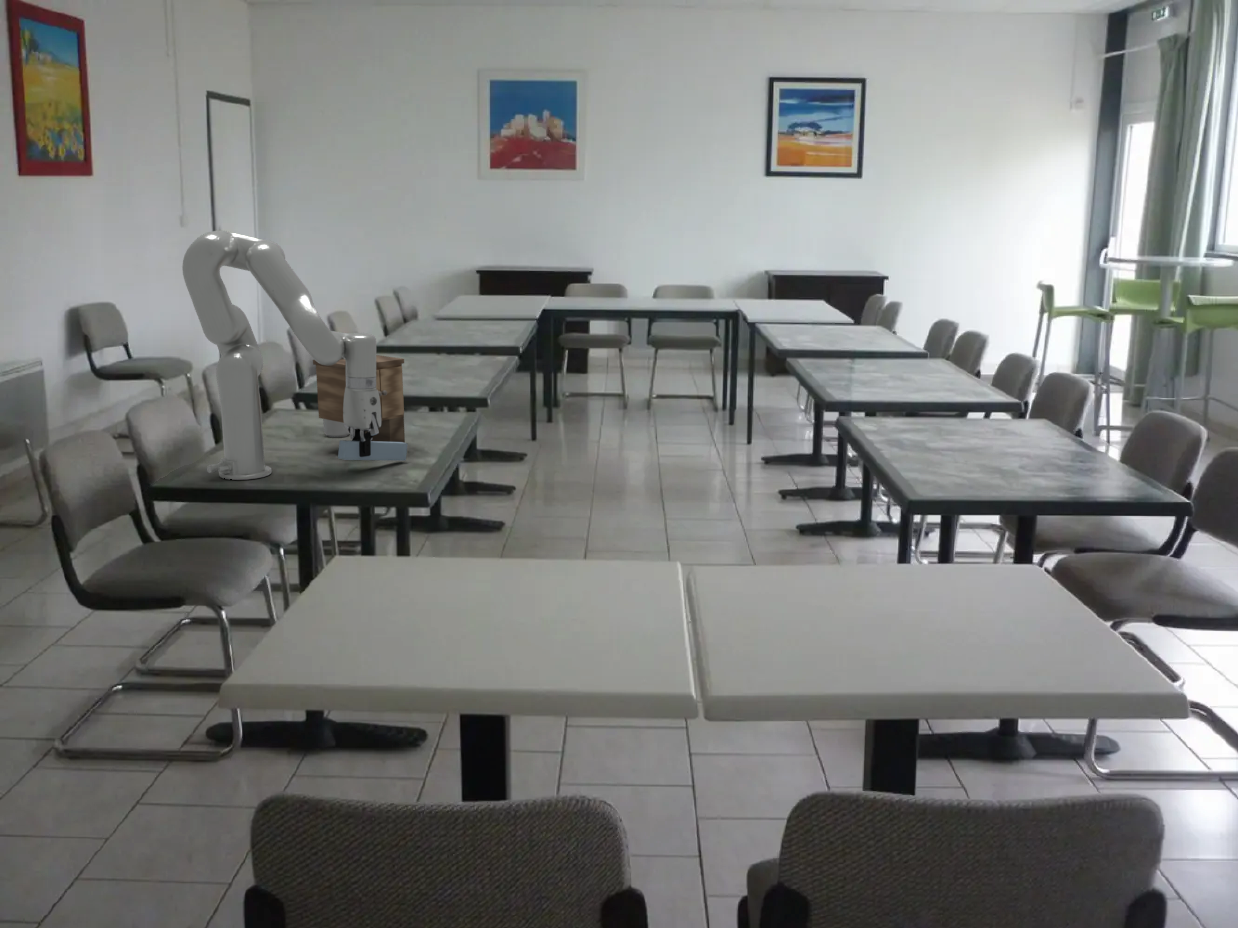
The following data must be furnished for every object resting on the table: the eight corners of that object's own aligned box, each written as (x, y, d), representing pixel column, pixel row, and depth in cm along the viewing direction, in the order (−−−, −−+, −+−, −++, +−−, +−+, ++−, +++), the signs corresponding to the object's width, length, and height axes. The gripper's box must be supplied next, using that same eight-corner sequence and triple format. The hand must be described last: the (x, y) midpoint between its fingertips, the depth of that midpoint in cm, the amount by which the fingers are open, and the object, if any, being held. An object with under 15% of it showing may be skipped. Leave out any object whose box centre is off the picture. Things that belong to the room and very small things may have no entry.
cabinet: (360, 462, 323) (356, 366, 317) (318, 452, 334) (312, 359, 329) (411, 451, 335) (407, 359, 330) (368, 442, 347) (363, 353, 341)
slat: (344, 459, 306) (346, 441, 306) (337, 458, 308) (339, 440, 307) (405, 460, 322) (407, 443, 321) (399, 458, 323) (401, 442, 323)
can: (354, 433, 360) (352, 392, 357) (346, 438, 352) (343, 396, 350) (329, 432, 360) (326, 392, 358) (320, 437, 353) (318, 396, 350)
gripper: (393, 386, 306) (393, 458, 310) (353, 377, 315) (353, 448, 320) (369, 388, 300) (369, 462, 304) (328, 380, 310) (329, 452, 314)
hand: (361, 454), depth 312 cm, fingers closed on slat, 2 cm apart
